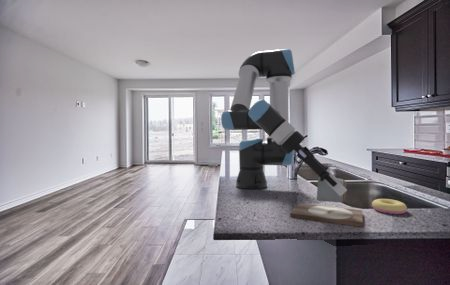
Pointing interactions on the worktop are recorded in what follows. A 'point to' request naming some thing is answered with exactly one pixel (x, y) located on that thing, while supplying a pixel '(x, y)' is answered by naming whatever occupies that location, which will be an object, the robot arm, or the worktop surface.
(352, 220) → the walnut board
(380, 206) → the donut
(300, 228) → the worktop surface
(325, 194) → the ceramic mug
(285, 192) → the worktop surface
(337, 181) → the robot arm
